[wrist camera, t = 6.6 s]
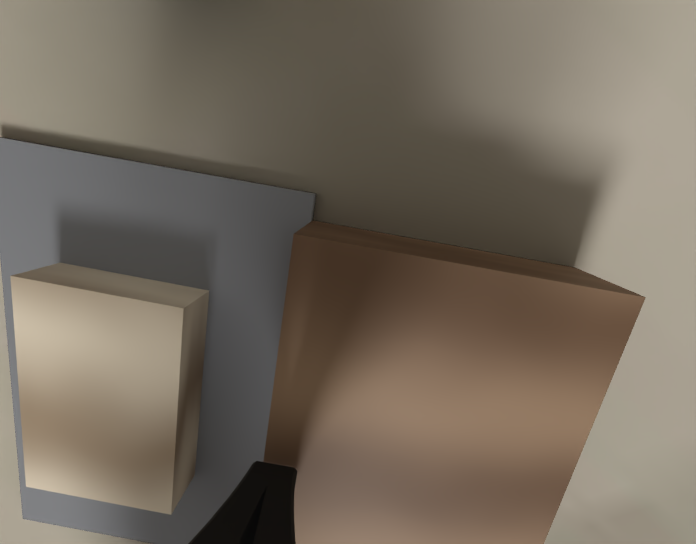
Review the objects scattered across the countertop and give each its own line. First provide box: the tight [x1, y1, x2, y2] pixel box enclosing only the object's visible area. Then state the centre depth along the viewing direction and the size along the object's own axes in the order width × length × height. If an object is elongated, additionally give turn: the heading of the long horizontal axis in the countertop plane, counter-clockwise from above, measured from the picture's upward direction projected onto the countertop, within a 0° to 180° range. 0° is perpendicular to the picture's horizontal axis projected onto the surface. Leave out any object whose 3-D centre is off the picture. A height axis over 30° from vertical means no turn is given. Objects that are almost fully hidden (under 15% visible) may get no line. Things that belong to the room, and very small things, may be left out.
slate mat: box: [0, 137, 316, 544], centre depth 15 cm, size 18×12×1 cm, turn 170°
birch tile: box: [10, 263, 209, 515], centre depth 14 cm, size 9×6×2 cm, turn 170°
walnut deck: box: [263, 220, 646, 544], centre depth 14 cm, size 16×10×4 cm, turn 170°
